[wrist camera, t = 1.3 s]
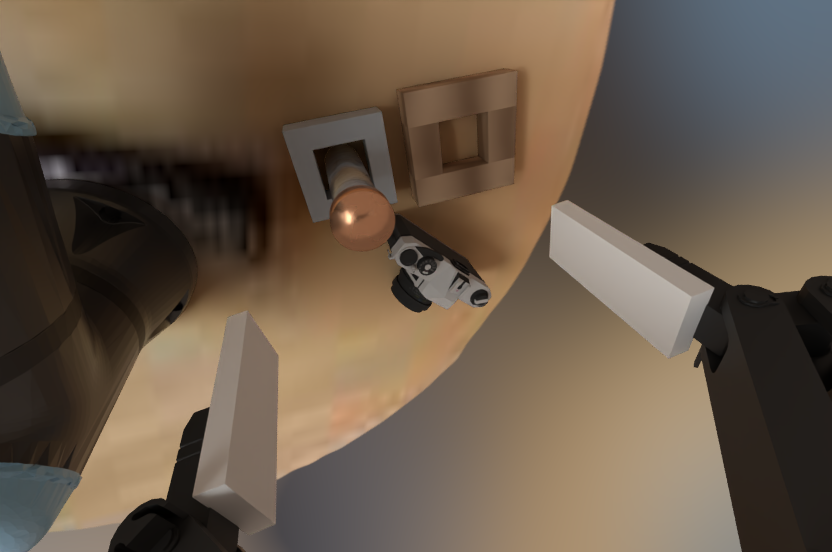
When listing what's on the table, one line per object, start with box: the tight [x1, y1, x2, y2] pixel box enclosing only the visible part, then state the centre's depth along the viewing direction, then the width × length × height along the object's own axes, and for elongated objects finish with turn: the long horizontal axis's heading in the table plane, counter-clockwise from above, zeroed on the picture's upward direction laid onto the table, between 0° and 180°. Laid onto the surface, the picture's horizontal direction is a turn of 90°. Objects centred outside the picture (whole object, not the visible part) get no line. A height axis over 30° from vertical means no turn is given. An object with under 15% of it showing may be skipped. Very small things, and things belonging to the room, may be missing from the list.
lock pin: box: [325, 144, 395, 251], centre depth 27 cm, size 4×4×13 cm
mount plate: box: [282, 107, 398, 223], centre depth 31 cm, size 8×8×2 cm
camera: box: [387, 213, 491, 312], centre depth 38 cm, size 13×8×9 cm, turn 52°
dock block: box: [397, 69, 518, 207], centre depth 33 cm, size 10×10×2 cm
